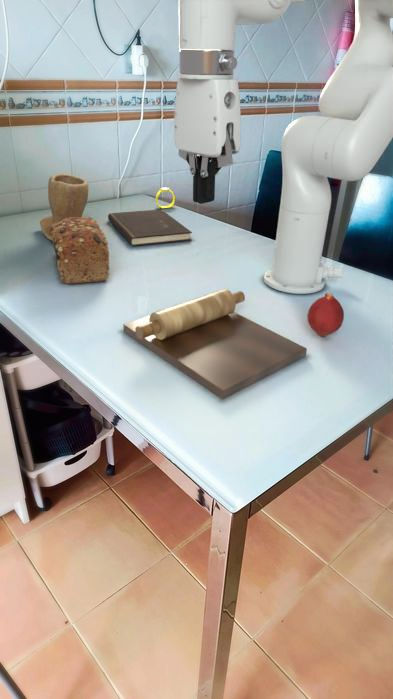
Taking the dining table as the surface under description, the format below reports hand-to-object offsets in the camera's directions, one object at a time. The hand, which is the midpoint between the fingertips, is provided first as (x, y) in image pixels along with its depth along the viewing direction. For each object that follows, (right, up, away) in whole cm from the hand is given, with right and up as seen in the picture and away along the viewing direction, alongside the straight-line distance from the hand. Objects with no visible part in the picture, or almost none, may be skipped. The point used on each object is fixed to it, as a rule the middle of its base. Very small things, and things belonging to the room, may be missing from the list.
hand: (203, 201), depth 75 cm
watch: (-11, +21, +74) cm, 78 cm away
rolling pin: (-2, -19, +4) cm, 20 cm away
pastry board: (+1, -23, +2) cm, 23 cm away
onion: (+20, -21, +6) cm, 30 cm away
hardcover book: (-14, +8, +53) cm, 56 cm away
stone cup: (-34, +6, +47) cm, 59 cm away
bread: (-26, -6, +28) cm, 39 cm away
